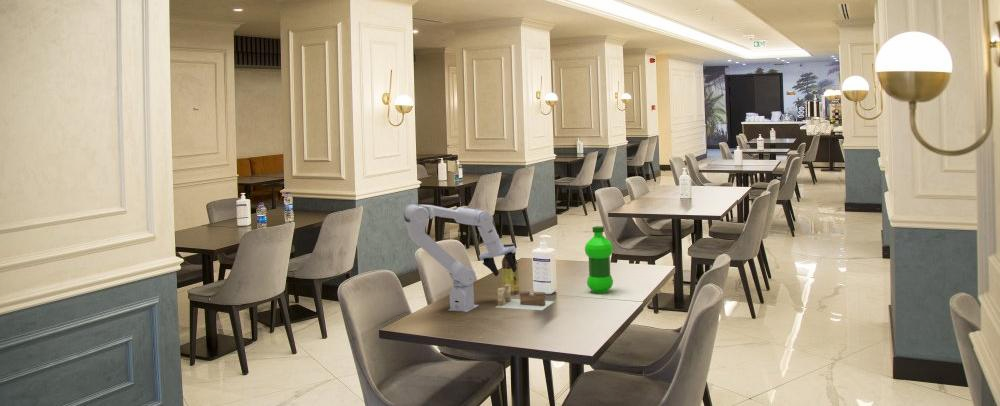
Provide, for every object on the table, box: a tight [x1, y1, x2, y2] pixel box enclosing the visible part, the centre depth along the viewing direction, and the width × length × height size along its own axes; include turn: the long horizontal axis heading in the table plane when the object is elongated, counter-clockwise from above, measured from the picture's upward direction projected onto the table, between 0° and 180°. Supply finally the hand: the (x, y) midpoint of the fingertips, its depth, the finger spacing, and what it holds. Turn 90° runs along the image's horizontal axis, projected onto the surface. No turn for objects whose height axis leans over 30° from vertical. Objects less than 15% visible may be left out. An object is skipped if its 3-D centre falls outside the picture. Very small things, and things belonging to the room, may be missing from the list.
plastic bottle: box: [584, 225, 614, 294], centre depth 287 cm, size 10×10×25 cm
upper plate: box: [496, 284, 512, 306], centre depth 275 cm, size 8×2×6 cm, turn 156°
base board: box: [495, 298, 556, 311], centre depth 272 cm, size 13×18×1 cm
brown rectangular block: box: [519, 290, 546, 306], centre depth 271 cm, size 2×9×4 cm, turn 66°
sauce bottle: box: [501, 242, 520, 296], centre depth 290 cm, size 7×6×20 cm
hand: (506, 272), depth 278 cm, fingers open, 7 cm apart
